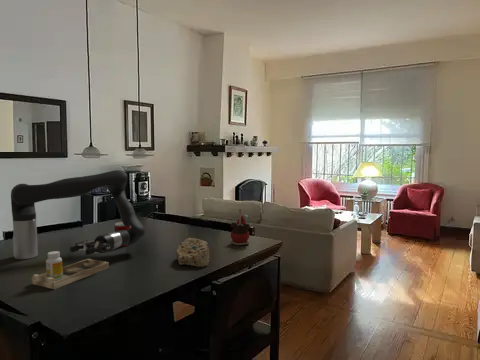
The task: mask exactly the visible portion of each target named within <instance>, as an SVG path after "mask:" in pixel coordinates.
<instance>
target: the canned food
mask: <svg viewBox="0 0 480 360" xmlns="http://www.w3.org/2000/svg"><path fill="white" fill-rule="evenodd" d="M119 222H120V223H117V222H115V223H116V224H115V223H114V232H116V231H120V230H126V231H127V230H129V229H130V226H125V225H124V224H123V222H122V221H119ZM128 246H130V245H123V246H120V248H123V247H128Z"/></svg>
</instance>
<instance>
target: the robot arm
mask: <svg viewBox="0 0 480 360" xmlns="http://www.w3.org/2000/svg"><path fill="white" fill-rule="evenodd" d="M127 182H128V174H127V173H126V171H123V170H116V169H115V170H111V171H106V172H102V173H98V174H97V173H95V174H91V175H85V176H75V177H68V178H62V179H59V180H56V181H53V182H48V183H42V184H27V183H18V184H16V185H15V186H13V188H12V189H11V192H10V202H11V203H10V204H11V216H12V230H13V231H12V232H13V236H12V250H13V252H12V253H13V258H14V259H15V260H27V259H29V260H30V259H33V258H36V257H38V255H39V253H38V252H39V251H38V229H37V227H38V226H37V212H36V206H35V204H36V203H39V202H44V201H49V200H59V199H69V198H77V197H82V196H85V195H87V194H89V193H90V192H93V191H94V190H96V189H98V188H101V187H106V188H107V190H108V192H109V193H110V195H111V197H112V199H113V201H114V203H115V205H116V207H117V209H118V213H119V217H120V218H121V219H120V220H121V222H123V224H124V225H125V226H131V228H130V229H129V230H127V231H126V230H120V231H116V232H115V231H113V232H112V231H111V232H108V233H104V234H100V235H98V236H96V237H95V239H94V240H90V241H88V240H86V239H85V240H83V241H80V242H75V243H74V245H73V246H70V248H69V252H70V253H75V252H78V251H84V252H85V255H86V256H90V255H92V254H97V253H98V254H103V253H107V252H110V251H113V250H115V249H117V248H119V247H120V246H123V245H129V246H131V245H132V246H133V245H135V244H136V243H138V242H139V241H140V239H142V238H143V237H144V236H145V233H146V229H145V227H144V225H143V224H142V223H141V221H140V219H139V218H138V217H137V214H136V210H135V209H134V206H133V204H132V203H131V202H130V201H129V200H128V198H127V194H126V186H127ZM120 248H121V247H120Z"/></svg>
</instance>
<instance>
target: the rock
mask: <svg viewBox="0 0 480 360" xmlns="http://www.w3.org/2000/svg"><path fill="white" fill-rule="evenodd" d="M175 257H176V258H177V262H178V264H179V265H180V266H181V265H187V266H192V267H201V268H202V267H206V266H209V262H210V257H211V256H210V248H209V244H208V242H207V241H205V240H203V239H198V238H195V237H188V238H186V239H184V240H183V241H181V242H180V243H179V244H178V246H177V249H176V251H175Z"/></svg>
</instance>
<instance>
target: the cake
mask: <svg viewBox="0 0 480 360" xmlns="http://www.w3.org/2000/svg"><path fill="white" fill-rule="evenodd" d="M238 211H239V213H238V217H239V218H238V219H237V221H236V222H235V221H232V222H231V223H230V227H231V228H232V229H231V231H230V238H231V240H230V243H231V244H232V245H237V246H244V245H248V244H250V240H249V239H250V231H249V229H251V225H249V223H247V222H246V219H248V218H249V216H248V214H243V215H242V209H241V208H239V209H238Z"/></svg>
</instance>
